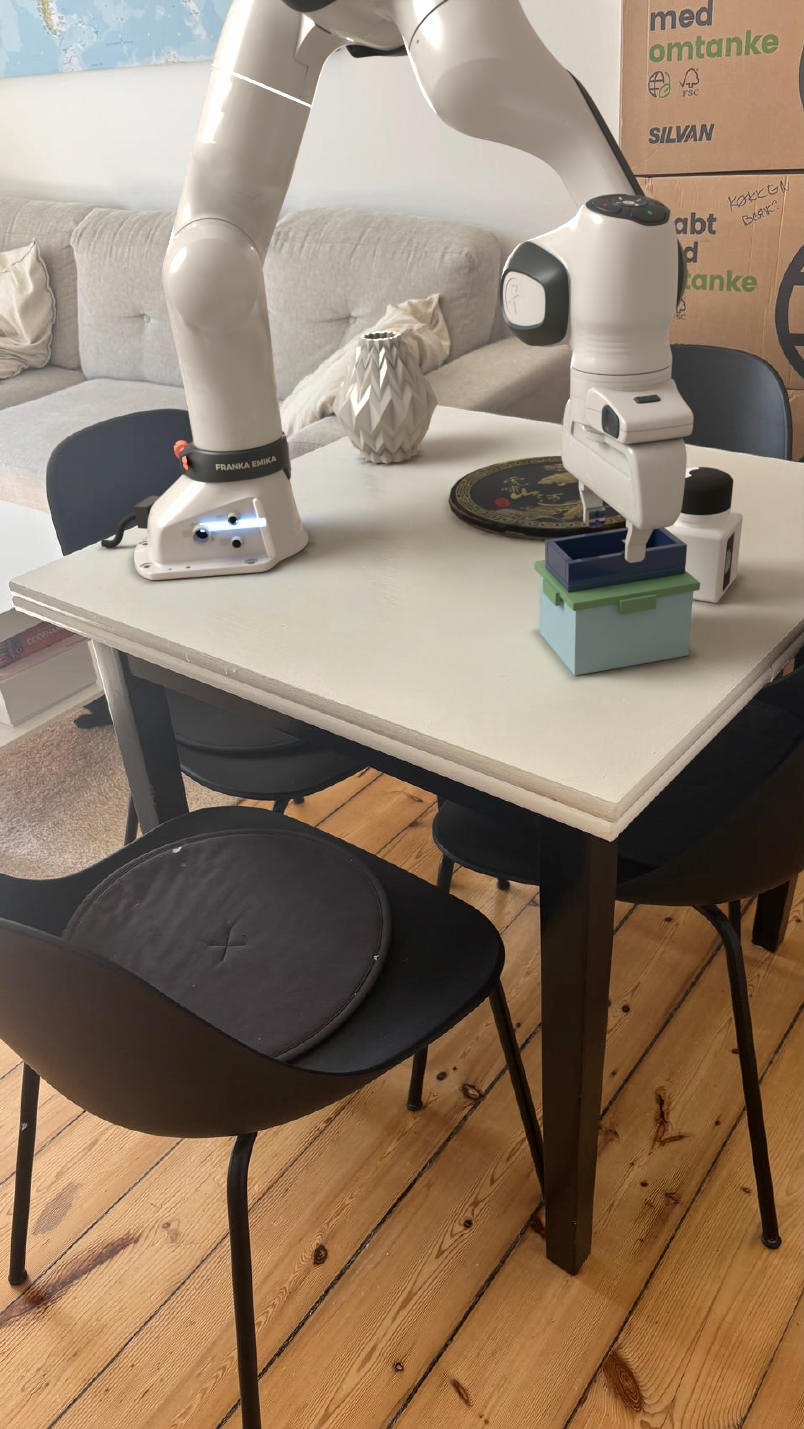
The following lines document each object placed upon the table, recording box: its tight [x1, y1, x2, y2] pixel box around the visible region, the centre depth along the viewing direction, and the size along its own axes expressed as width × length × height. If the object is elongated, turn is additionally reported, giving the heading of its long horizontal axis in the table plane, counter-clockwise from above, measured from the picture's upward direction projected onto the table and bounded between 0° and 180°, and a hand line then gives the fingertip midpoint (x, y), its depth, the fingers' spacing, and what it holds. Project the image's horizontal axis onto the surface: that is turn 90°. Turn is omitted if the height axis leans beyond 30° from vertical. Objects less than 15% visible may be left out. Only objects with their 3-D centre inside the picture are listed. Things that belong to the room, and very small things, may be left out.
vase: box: [331, 330, 439, 465], centre depth 162 cm, size 16×16×18 cm
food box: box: [533, 559, 700, 676], centre depth 106 cm, size 14×12×8 cm
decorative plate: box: [448, 455, 627, 541], centre depth 144 cm, size 30×2×30 cm
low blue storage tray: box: [544, 528, 687, 592], centre depth 103 cm, size 12×6×3 cm, turn 103°
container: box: [664, 466, 744, 604], centre depth 115 cm, size 8×8×13 cm
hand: (612, 541), depth 102 cm, fingers open, 8 cm apart
